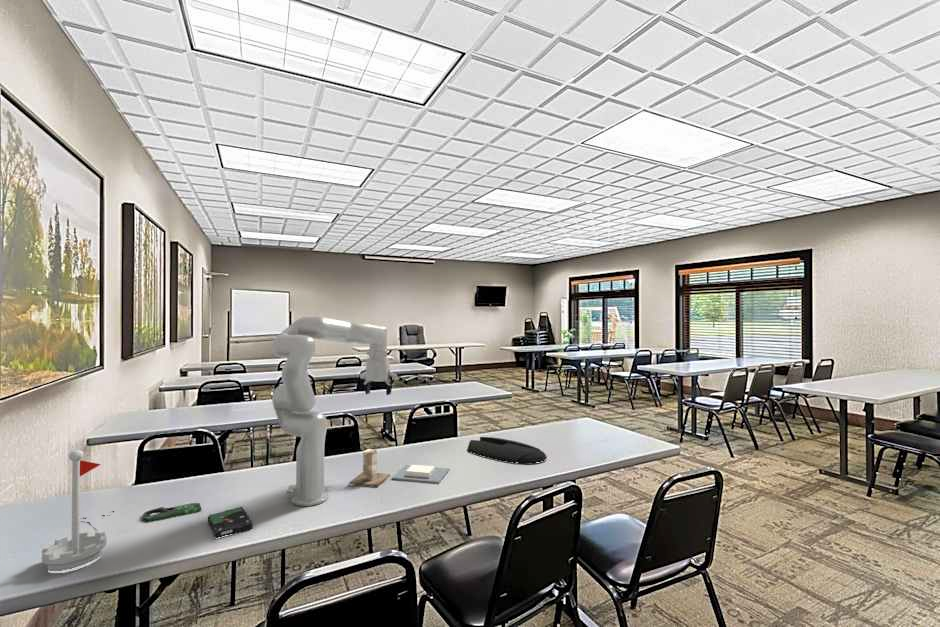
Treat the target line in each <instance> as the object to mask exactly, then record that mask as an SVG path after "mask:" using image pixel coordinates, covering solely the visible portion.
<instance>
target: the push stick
mask: <svg viewBox="0 0 940 627" xmlns="http://www.w3.org/2000/svg"><path fill="white" fill-rule="evenodd" d="M362 453H363V454H362V456H363V457H362V472H363V479H365V480H373V479H375V478H376V477H377V473H378V450H377V449H375V448H374V449H373V448H367V449H366V450H363V452H362Z"/></svg>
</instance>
